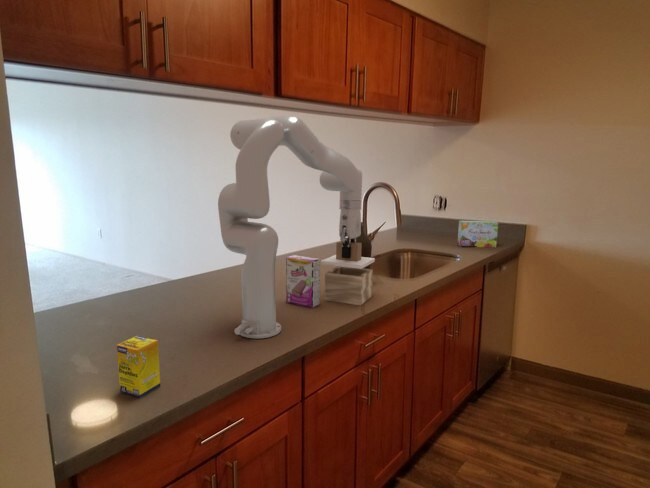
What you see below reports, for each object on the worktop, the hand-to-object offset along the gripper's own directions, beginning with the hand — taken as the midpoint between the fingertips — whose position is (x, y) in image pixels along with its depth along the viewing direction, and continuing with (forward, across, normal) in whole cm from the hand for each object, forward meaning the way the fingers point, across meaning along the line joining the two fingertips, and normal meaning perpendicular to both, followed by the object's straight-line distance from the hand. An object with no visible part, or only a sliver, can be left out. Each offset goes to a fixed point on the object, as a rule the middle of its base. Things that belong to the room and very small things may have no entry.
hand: (348, 256), depth 161 cm
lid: (+2, 0, 0) cm, 2 cm away
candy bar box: (+16, -12, +12) cm, 23 cm away
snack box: (+13, +126, -31) cm, 130 cm away
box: (+15, +1, 0) cm, 16 cm away
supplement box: (+18, -80, +17) cm, 84 cm away
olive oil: (+15, +21, +4) cm, 26 cm away
